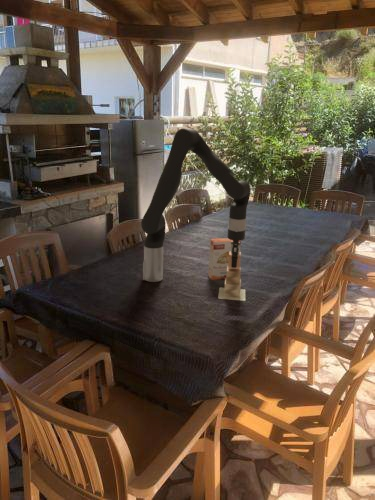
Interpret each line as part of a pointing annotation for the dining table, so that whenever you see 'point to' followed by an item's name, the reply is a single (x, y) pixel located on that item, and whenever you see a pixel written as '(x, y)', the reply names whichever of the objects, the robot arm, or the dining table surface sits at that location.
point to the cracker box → (219, 258)
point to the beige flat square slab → (221, 296)
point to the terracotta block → (237, 260)
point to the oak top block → (233, 276)
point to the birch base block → (232, 290)
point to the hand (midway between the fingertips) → (234, 264)
